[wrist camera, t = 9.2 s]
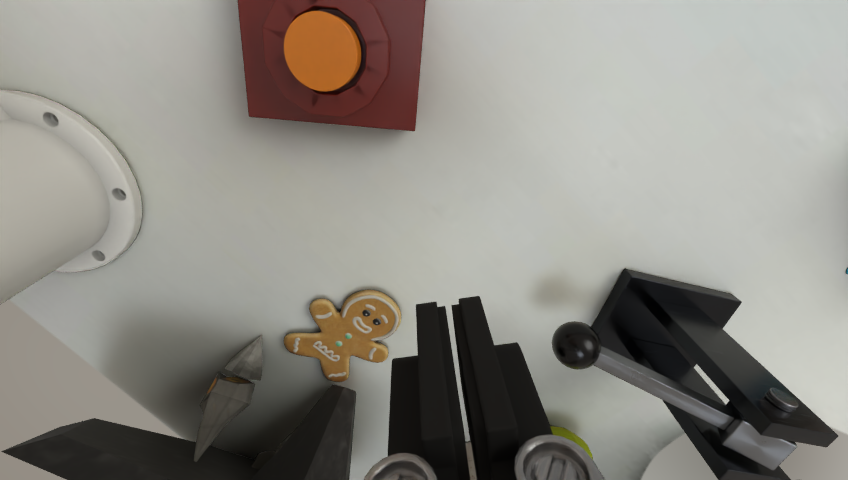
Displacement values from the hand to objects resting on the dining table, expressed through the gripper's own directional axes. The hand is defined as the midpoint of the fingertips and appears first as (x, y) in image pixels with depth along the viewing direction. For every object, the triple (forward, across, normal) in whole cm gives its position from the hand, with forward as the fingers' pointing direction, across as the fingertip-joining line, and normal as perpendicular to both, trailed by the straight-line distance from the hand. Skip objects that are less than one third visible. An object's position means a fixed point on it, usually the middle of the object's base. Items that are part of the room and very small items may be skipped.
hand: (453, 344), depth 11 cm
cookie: (+19, +8, +14) cm, 25 cm away
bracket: (+19, -18, +16) cm, 31 cm away
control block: (+19, +4, -8) cm, 21 cm away
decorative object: (+12, +20, +21) cm, 31 cm away
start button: (+15, +4, -8) cm, 18 cm away
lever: (+12, -14, +15) cm, 23 cm away
